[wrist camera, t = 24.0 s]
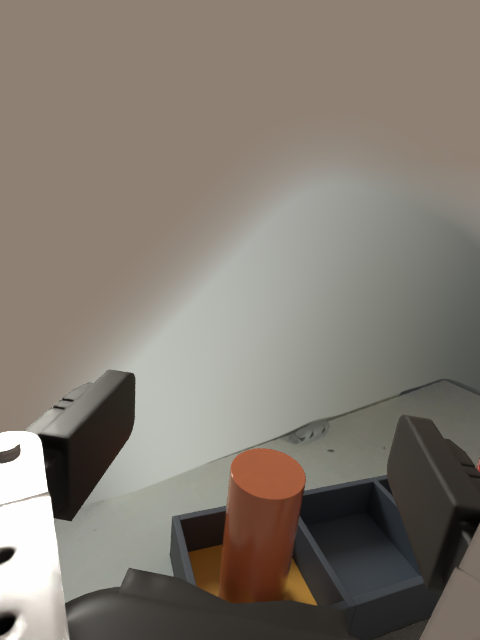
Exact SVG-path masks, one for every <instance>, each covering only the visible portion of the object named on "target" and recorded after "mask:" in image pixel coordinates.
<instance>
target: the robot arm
mask: <svg viewBox="0 0 480 640" xmlns="http://www.w3.org/2000/svg"><path fill="white" fill-rule="evenodd" d="M134 419H135V376H134V374H133V373H129V372H122V371H116V370H108V371H106V372H105V373H104V374H103V375H102V376H101V377H100V378H99V379H98V380H96V381H95V382H94V383H86V384H84V385H82V386H80V387H77V388H75V389H73V390H72V391H71V392H69V393H68V394H67V395H66V396H65V397H63V399H62V400H60V401H59V402H58V403H56V404H55V405H54V407H53V408H50V409H49V410H48V411H47V412H46V413H45V414H43V415H42V416H41V417H40V418H39V419H37V420H36V421H35V422H34V423H33V424H32V425H30V426H29V427H28V428H27V429H26V430H24V431H13V432H6V433H1V434H0V640H360V639H358V638H356V637H354V636H352V635H350V634H348V629H347V621H346V614H345V611H342V610H337V609H332V608H327V607H322V606H317V605H312V604H307V603H302V602H297V601H292V600H284V601H268V602H253V603H230V602H228V601H225V600H223V599H221V598H219V597H217V596H215V595H213V594H211V593H209V592H207V591H205V590H203V589H201V588H199V587H197V586H195V585H193V584H191V583H189V582H187V581H185V580H183V579H181V578H177V577H172V576H167V575H162V574H157V573H152V572H147V571H142V570H137V569H132V568H129V569H128V571H127V573H126V576H125V578H124V580H123V582H122V585H121V587H113V588H107V589H102V590H98V591H95V592H91V593H88V594H85V595H83V596H80V597H78V598H75V599H73V600H71V601H69V602H67V603H65V602H64V594H63V587H62V580H61V573H60V565H59V558H58V551H57V543H56V536H55V529H54V521H53V518H56V519H62V520H67V521H72V519H73V518H74V517H75V515H76V514H77V512H78V511H79V509H80V508H81V506H82V505H83V504H84V502H85V500H86V499H87V498H88V496H89V495H90V493H91V492H92V491H93V489H94V488H95V486H96V485H97V483H98V482H99V480H100V479H101V478H102V476H103V475H104V473H105V472H106V470H107V469H108V467H109V466H110V465H111V463H112V462H113V460H114V459H115V457H116V456H117V455H118V453H119V452H120V450H121V449H122V447H123V446H124V444H125V443H126V441H127V440H128V439H129V436H130V435H131V432H132V429H133V425H134ZM387 477H388V482H389V486H390V488H391V491H392V494H393V497H394V500H395V502H396V505H397V508H398V511H399V514H400V516H401V519H402V522H403V525H404V528H405V530H406V533H407V536H408V539H409V542H410V544H411V547H412V550H413V553H414V556H415V558H416V561H417V564H418V567H419V570H420V572H421V575H422V578H423V581H424V584H425V586H426V589H427V591H430V592H436V593H441V594H442V595H441V597H440V599H439V601H438V603H437V605H436V607H435V609H434V611H433V613H432V615H431V617H430V619H429V621H428V623H427V625H426V627H425V629H424V631H423V633H422V635H421V637H420V639H419V640H480V472H479V471H478V469H477V468H475V465H474V464H473V462H472V461H471V459H470V458H469V457H468V455H467V454H466V452H465V451H463V450H462V449H461V448H460V447H458V446H457V445H456V444H455V443H453V442H452V441H451V440H450V439H444V438H443V436H442V435H441V433H440V432H439V430H438V429H437V427H436V426H435V424H434V423H433V421H432V420H431V419H427V418H421V417H414V416H407V415H402V416H401V417H400V418H399V421H398V424H397V428H396V432H395V436H394V439H393V443H392V447H391V451H390V455H389V459H388V464H387Z"/></svg>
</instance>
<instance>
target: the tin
mask: <svg viewBox="0 0 480 640" xmlns="http://www.w3.org/2000/svg"><path fill="white" fill-rule="evenodd" d="M305 482H306V476H305V473H304V470H303V469H302V467H301V466H300V464H299V463H298V462H297V461H296V460H294V459H293V458H292V457H290V456H288V455H286V454H285V453H282V452H279V451H276V450H272V449H264V448H258V449H251V450H247V451H245V452H242V453H241V454H239V455H238V456H237V457H236V458H235V459H234V460H233V462H232V464H231V468H230V477H229V487H228V496H227V506H226V515H225V525H224V534H223V543H222V553H221V562H220V572H219V581H218V597H219V598H221V599H223V600H225V601H228V602H230V603H253V602H268V601H284V600H285V595H286V590H287V584H288V578H289V573H290V567H291V561H292V556H293V550H294V544H295V539H296V533H297V528H298V522H299V516H300V511H301V505H302V499H303V494H304V488H305Z"/></svg>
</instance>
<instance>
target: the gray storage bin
mask: <svg viewBox="0 0 480 640" xmlns="http://www.w3.org/2000/svg"><path fill="white" fill-rule="evenodd" d="M225 515H226V506H223V507H218V508H213V509H208V510H203V511H197V512H192V513H187V514H182V515H177V516H173V517H172V530H171V548H170V558H171V563H172V568H173V573H174V577H177V578H181V579H183V580H185V581H187V582H189V583H191V584H193V585H195V586H197V587H199V588H201V589H203V590H205V591H207V592H209V593H211V594H213V595H215V596H217V597H218V581H219V572H220V562H221V553H222V543H223V534H224V525H225ZM441 595H442V594H441V593H436V592H430V591H427V589H426V586H425V584H424V581H423V578H422V575H421V572H420V570H419V567H418V564H417V561H416V558H415V556H414V553H413V550H412V547H411V544H410V542H409V539H408V536H407V533H406V530H405V528H404V525H403V522H402V519H401V516H400V514H399V511H398V508H397V505H396V502H395V500H394V497H393V494H392V491H391V488H390V486H389V482H388V477H387V475H384V476H379V477H373V478H368V479H363V480H358V481H353V482H347V483H342V484H337V485H332V486H327V487H322V488H316V489H311V490H306V491H304V494H303V499H302V505H301V511H300V516H299V522H298V528H297V533H296V539H295V544H294V550H293V556H292V561H291V567H290V573H289V578H288V584H287V590H286V595H285V600H292V601H297V602H302V603H307V604H312V605H317V606H322V607H327V608H332V609H337V610H342V611H345V614H346V621H347V629H348V634H350V635H352V636H354V637H356V638H358V639H360V640H371V639H373V638H376V637H379V636H381V635H384V634H387V633H389V632H392V631H395V630H397V629H400V628H403V627H405V626H408V625H411V624H413V623H416V622H419V621H421V620H424V619H427V618H429V617H431V615H432V613H433V611H434V609H435V607H436V605H437V603H438V601H439V599H440V597H441Z"/></svg>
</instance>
